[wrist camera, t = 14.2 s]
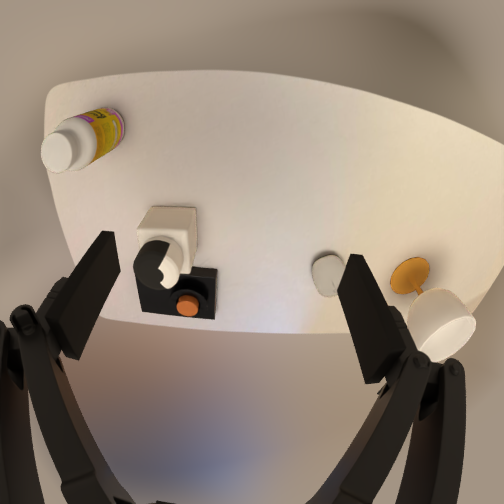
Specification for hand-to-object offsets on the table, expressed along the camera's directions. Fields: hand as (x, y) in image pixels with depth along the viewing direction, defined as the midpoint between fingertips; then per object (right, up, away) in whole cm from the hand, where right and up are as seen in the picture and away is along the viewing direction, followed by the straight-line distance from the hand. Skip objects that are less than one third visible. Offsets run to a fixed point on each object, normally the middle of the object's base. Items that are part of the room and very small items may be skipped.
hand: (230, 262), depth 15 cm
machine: (-12, -6, +35) cm, 38 cm away
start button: (-10, -8, +32) cm, 35 cm away
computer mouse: (+15, -3, +34) cm, 37 cm away
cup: (+32, -4, +35) cm, 47 cm away
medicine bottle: (-11, +5, +28) cm, 31 cm away
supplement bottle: (-20, +18, +19) cm, 33 cm away
